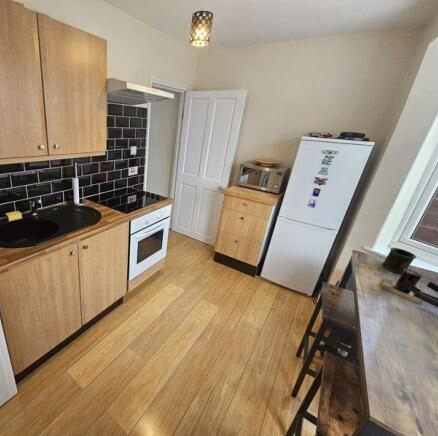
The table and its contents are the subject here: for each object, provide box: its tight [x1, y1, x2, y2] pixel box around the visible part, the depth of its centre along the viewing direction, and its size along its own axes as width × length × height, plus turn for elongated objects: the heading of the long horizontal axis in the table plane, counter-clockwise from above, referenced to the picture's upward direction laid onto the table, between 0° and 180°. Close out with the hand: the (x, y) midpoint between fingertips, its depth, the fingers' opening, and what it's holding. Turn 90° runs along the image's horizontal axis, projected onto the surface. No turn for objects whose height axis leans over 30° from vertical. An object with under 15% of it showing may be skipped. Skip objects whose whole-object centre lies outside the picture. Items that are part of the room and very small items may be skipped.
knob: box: [395, 268, 423, 293], centre depth 116 cm, size 6×6×10 cm
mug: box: [382, 247, 417, 275], centre depth 139 cm, size 11×15×12 cm
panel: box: [380, 278, 423, 305], centre depth 119 cm, size 14×10×3 cm
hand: (416, 283), depth 113 cm, fingers open, 13 cm apart
